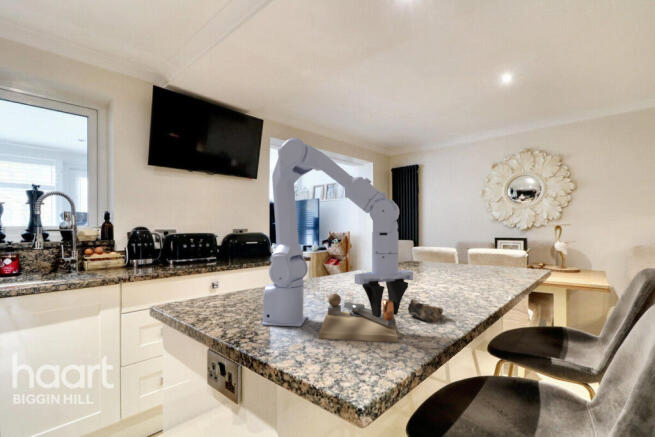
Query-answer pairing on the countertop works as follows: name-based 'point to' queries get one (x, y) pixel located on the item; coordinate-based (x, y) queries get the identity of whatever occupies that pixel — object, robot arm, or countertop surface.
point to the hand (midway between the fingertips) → (384, 314)
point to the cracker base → (353, 325)
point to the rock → (424, 311)
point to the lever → (385, 318)
